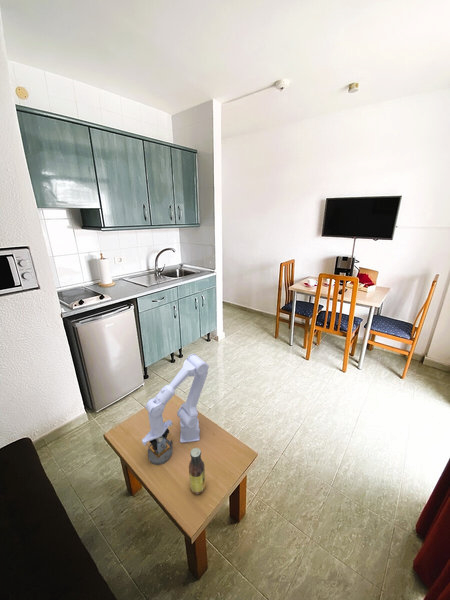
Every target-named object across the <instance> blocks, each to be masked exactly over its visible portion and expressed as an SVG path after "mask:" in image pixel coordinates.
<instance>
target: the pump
mask: <svg viewBox="0 0 450 600" xmlns="http://www.w3.org/2000/svg"><path fill="white" fill-rule="evenodd" d="M166 439H167V438H166ZM166 439H165V438H164V437H163V436H160V437H158V438H156V439H155V440H156V441H157V450H156V451H157V452H158V454H160V453H161V452H162V451H163V450H164V449H166Z"/></svg>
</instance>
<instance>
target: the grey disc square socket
mask: <svg viewBox="0 0 450 600" xmlns="http://www.w3.org/2000/svg"><path fill="white" fill-rule="evenodd" d="M172 444H173V440H170V439H167V438H166V449H164V450H163V451H162V452H161V453H160V454H158V452H157V451H156V450H155V449H154V448H153V446H152V444H151V443H150V445H148V448H147V456H148V461H149V462H150V463H151V464H153V465H154V466H155V465H156V466H160V465H164V464H165V463H167V462H168V461H169V460H170V459H171V457H172V456H173V445H172Z"/></svg>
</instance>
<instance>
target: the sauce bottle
mask: <svg viewBox="0 0 450 600" xmlns="http://www.w3.org/2000/svg"><path fill="white" fill-rule="evenodd" d="M189 454H190V458H191V459H190V461H189V464H188V473H189V474H188V475H189V476H188V477H189V487H190V490H191V492H192V493H193V494H194V495H201V494H202V493H203V492H204V491H205V489H206V469H205V463H204V461H203V459H202V456H201V455H202V452H201V449H200V448H199V447H194V448H192V449H191V450H190V453H189Z"/></svg>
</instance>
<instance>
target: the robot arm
mask: <svg viewBox="0 0 450 600" xmlns="http://www.w3.org/2000/svg"><path fill="white" fill-rule="evenodd" d="M209 368H210V366H209V365H208V363H207V362H206V361H204V360H203V359H202V358H200V357H199V356H198V355H197V354H196V353H191V354H189V355H188V356H187V358H186V359H184V362H183V364H182V367H181V369H179V371H178V372H177V374H176V375H175V376H174V378H173V379H172V380H171V382H169V384H166V385H164V386H163V387H162V388H161V389H160V390H159V392H158V393H157V394H155V396H154V397H153V398H150V399H148V401H147V402H146V404H145V406H144V407H145V409H146V411H147V412H148V413H147V414H148V422H149V427H150V430H149V431H148V433H146V435H145V437H143V438H142V439H141V443H142V445H143V446H146V445H147V443H148V442H149V443H150V444H152V446H153V448H154V449H155V450H157V441H156V440H155V439H156V438H158V437H160V436H163V437H164V438H165V439H167V438H168V435H169V434H170V429H169V427H172V426H173V421H172V420H171V419H168V420H167V421H164V417H163V416H164V415H163V413H164V411H165V408H166V405H167V404H168V403H169V401H170V400H171V399H172V398H173V397H174V396H175V393H176V389H177V388H178V387H179V386H180V385H182V383H183V382H184V381H185V380H186V379H187V378H188V377H193V381H192V383H191V386H190V389H189V391H188V395H187V398H186V401H185V402H183V403H182V404H181V405H180V406H179V407H180V408H179V409H178V410H177V411H176V415H177V417H178V418H179V424H180V426H179V427H180V436H179V438H180V439H179V443H181V444H182V443H183V444H184V443H191V442H198V441H201V440H200V438H201V437H200V434H201V429H200V423H199V422H200V420H199V418H198V415H199V412H198V409H197V405H198V402H199V399H200V397H201V393H202V392H203V388H204V385H205V382H206V380H207V376H208V371H209Z"/></svg>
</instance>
